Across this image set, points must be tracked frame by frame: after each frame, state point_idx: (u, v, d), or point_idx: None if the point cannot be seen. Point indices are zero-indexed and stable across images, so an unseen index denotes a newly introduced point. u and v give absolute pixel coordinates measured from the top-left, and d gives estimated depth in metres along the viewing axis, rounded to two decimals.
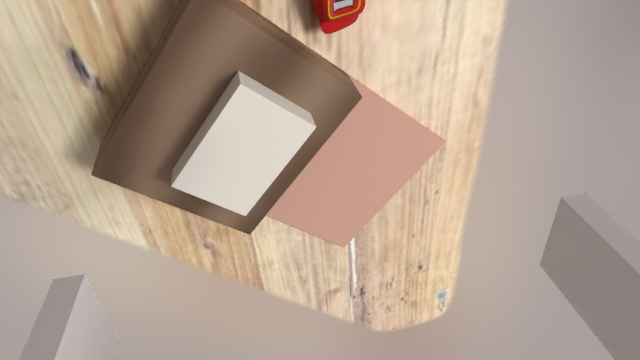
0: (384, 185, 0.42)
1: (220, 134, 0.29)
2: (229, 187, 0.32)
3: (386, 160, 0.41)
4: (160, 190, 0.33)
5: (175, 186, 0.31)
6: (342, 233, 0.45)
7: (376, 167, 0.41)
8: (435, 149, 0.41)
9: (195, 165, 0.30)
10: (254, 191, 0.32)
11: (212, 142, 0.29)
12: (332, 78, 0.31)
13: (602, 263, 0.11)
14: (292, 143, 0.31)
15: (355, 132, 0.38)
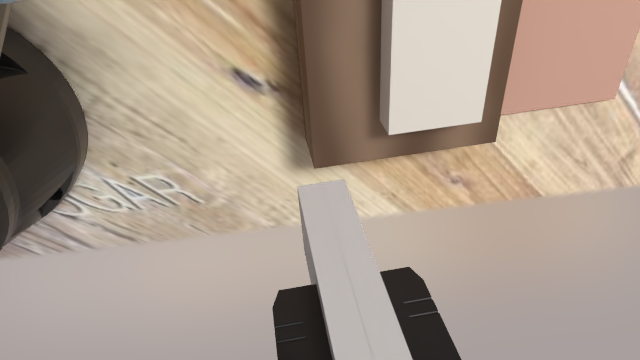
0: None
1: (405, 48, 0.24)
2: (447, 101, 0.27)
3: None
4: (380, 147, 0.30)
5: (392, 132, 0.27)
6: (603, 83, 0.35)
7: None
8: None
9: (399, 98, 0.26)
10: (475, 88, 0.26)
11: (401, 63, 0.25)
12: None
13: None
14: (489, 5, 0.24)
15: None
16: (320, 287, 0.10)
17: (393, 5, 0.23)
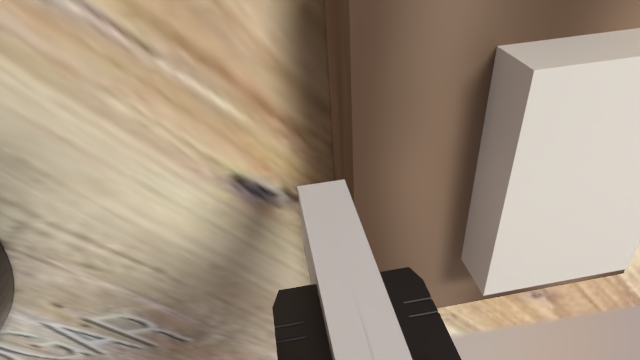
0: None
1: (531, 180, 0.14)
2: (582, 246, 0.16)
3: None
4: (457, 291, 0.20)
5: (490, 292, 0.17)
6: None
7: None
8: None
9: (508, 248, 0.16)
10: (631, 227, 0.16)
11: (522, 200, 0.14)
12: None
13: None
14: None
15: None
16: (320, 287, 0.10)
17: (525, 116, 0.13)
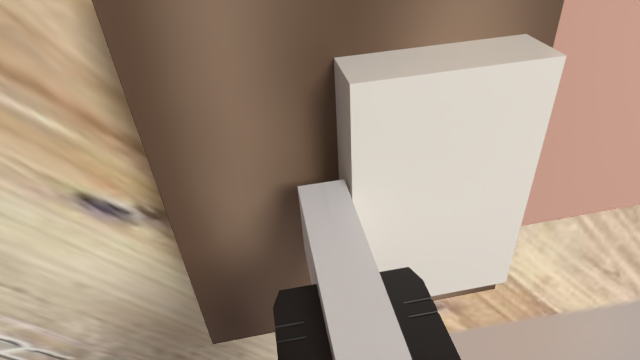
0: None
1: (377, 195, 0.14)
2: (451, 260, 0.16)
3: None
4: None
5: None
6: None
7: None
8: None
9: None
10: (499, 241, 0.16)
11: (372, 215, 0.14)
12: None
13: None
14: (528, 121, 0.13)
15: (586, 5, 0.17)
16: (320, 287, 0.10)
17: (352, 130, 0.12)
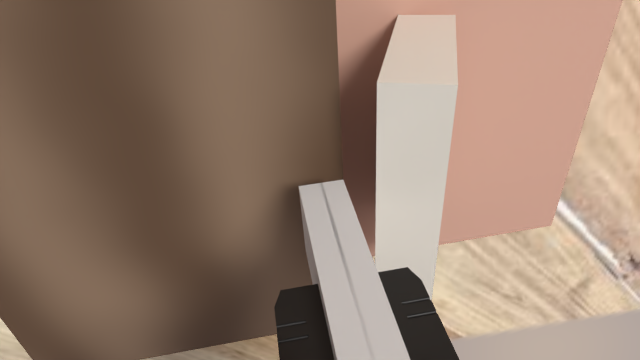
0: (557, 85, 0.19)
1: None
2: None
3: (530, 37, 0.17)
4: (152, 343, 0.19)
5: None
6: (531, 208, 0.23)
7: (516, 66, 0.18)
8: None
9: None
10: None
11: None
12: None
13: None
14: None
15: None
16: (322, 287, 0.10)
17: (451, 132, 0.12)
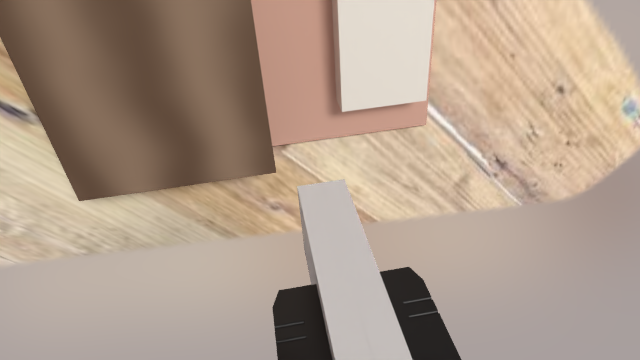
0: None
1: None
2: None
3: None
4: (147, 179, 0.29)
5: None
6: (408, 109, 0.33)
7: None
8: None
9: None
10: None
11: None
12: None
13: None
14: None
15: None
16: (320, 287, 0.10)
17: None
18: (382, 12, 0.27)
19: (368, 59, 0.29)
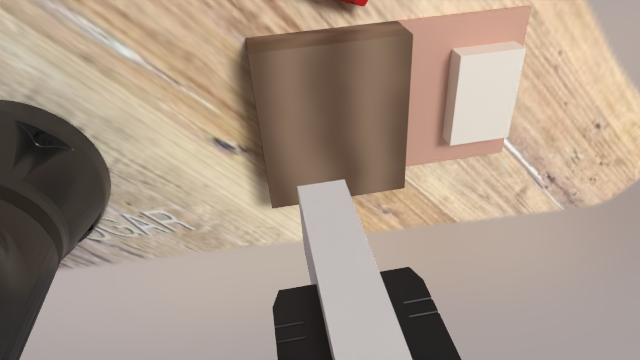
0: None
1: None
2: None
3: None
4: None
5: None
6: (490, 141, 0.47)
7: None
8: (526, 19, 0.40)
9: None
10: None
11: None
12: (378, 39, 0.35)
13: None
14: None
15: (437, 58, 0.40)
16: (320, 287, 0.10)
17: None
18: (486, 81, 0.40)
19: (472, 111, 0.42)
